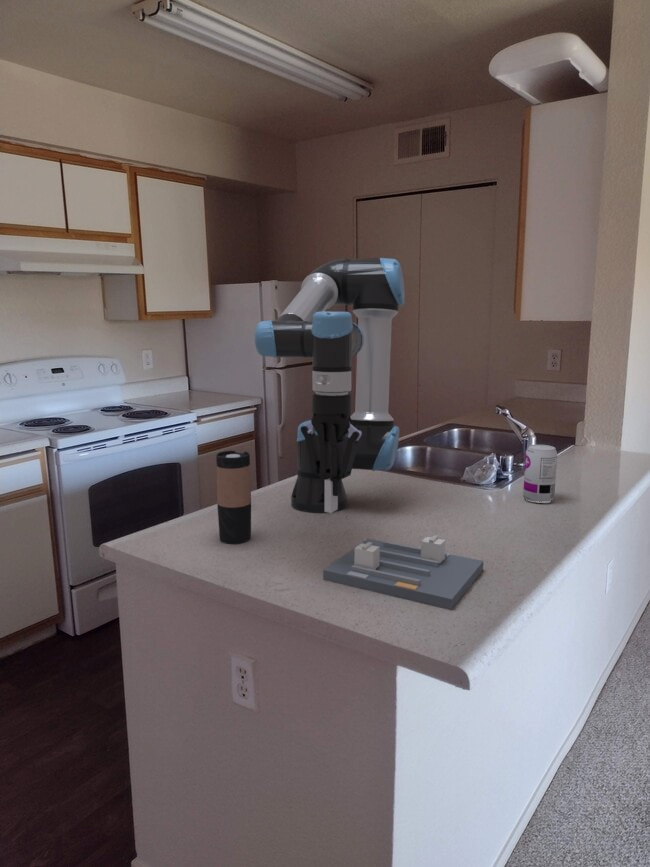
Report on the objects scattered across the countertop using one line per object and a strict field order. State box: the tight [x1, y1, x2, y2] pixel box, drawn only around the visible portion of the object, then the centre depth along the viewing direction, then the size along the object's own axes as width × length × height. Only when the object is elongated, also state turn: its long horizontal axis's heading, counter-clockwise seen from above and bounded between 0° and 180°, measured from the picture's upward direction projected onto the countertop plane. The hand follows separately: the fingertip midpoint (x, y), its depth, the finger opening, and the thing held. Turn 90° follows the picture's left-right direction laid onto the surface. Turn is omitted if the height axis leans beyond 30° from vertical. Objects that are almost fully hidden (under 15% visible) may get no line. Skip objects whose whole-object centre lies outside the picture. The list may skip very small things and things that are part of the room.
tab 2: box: [420, 534, 446, 564], centre depth 130 cm, size 4×3×5 cm
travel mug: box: [215, 450, 252, 545], centre depth 147 cm, size 8×8×20 cm
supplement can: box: [522, 444, 558, 502], centre depth 177 cm, size 8×8×15 cm
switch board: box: [322, 538, 484, 610], centre depth 129 cm, size 26×20×3 cm
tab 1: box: [354, 542, 380, 570], centre depth 127 cm, size 4×3×5 cm
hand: (331, 510), depth 129 cm, fingers closed
